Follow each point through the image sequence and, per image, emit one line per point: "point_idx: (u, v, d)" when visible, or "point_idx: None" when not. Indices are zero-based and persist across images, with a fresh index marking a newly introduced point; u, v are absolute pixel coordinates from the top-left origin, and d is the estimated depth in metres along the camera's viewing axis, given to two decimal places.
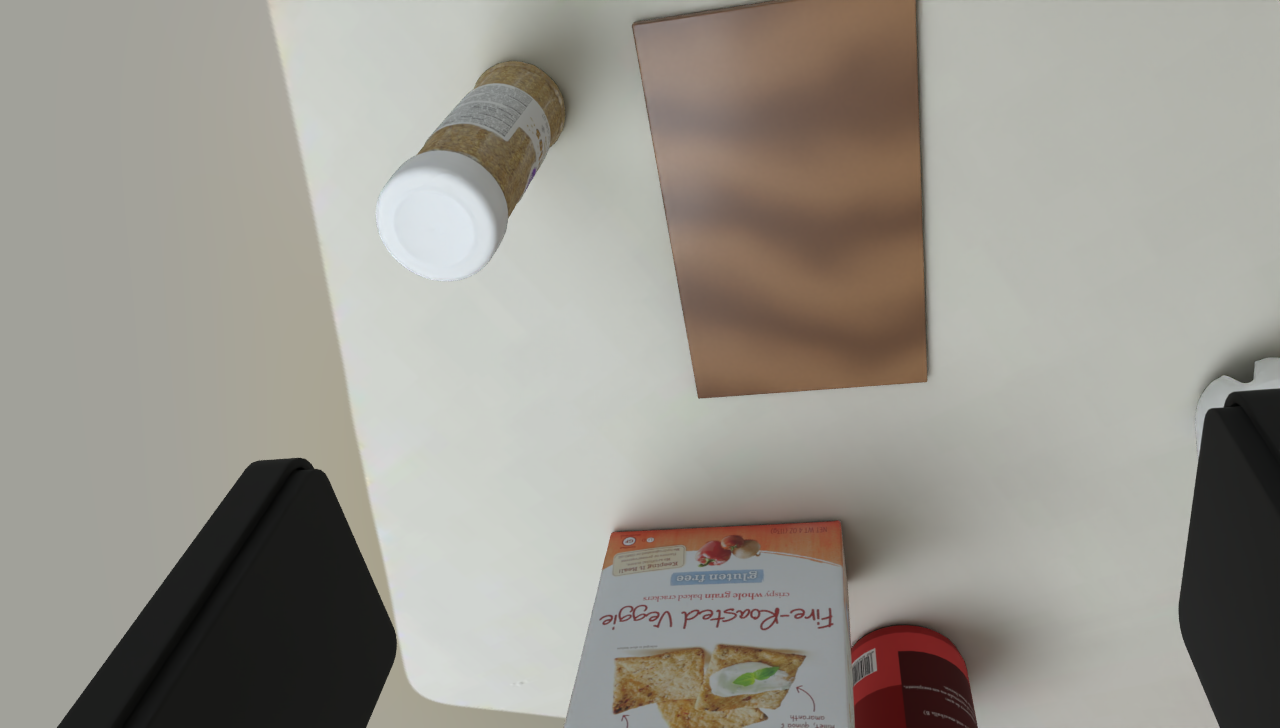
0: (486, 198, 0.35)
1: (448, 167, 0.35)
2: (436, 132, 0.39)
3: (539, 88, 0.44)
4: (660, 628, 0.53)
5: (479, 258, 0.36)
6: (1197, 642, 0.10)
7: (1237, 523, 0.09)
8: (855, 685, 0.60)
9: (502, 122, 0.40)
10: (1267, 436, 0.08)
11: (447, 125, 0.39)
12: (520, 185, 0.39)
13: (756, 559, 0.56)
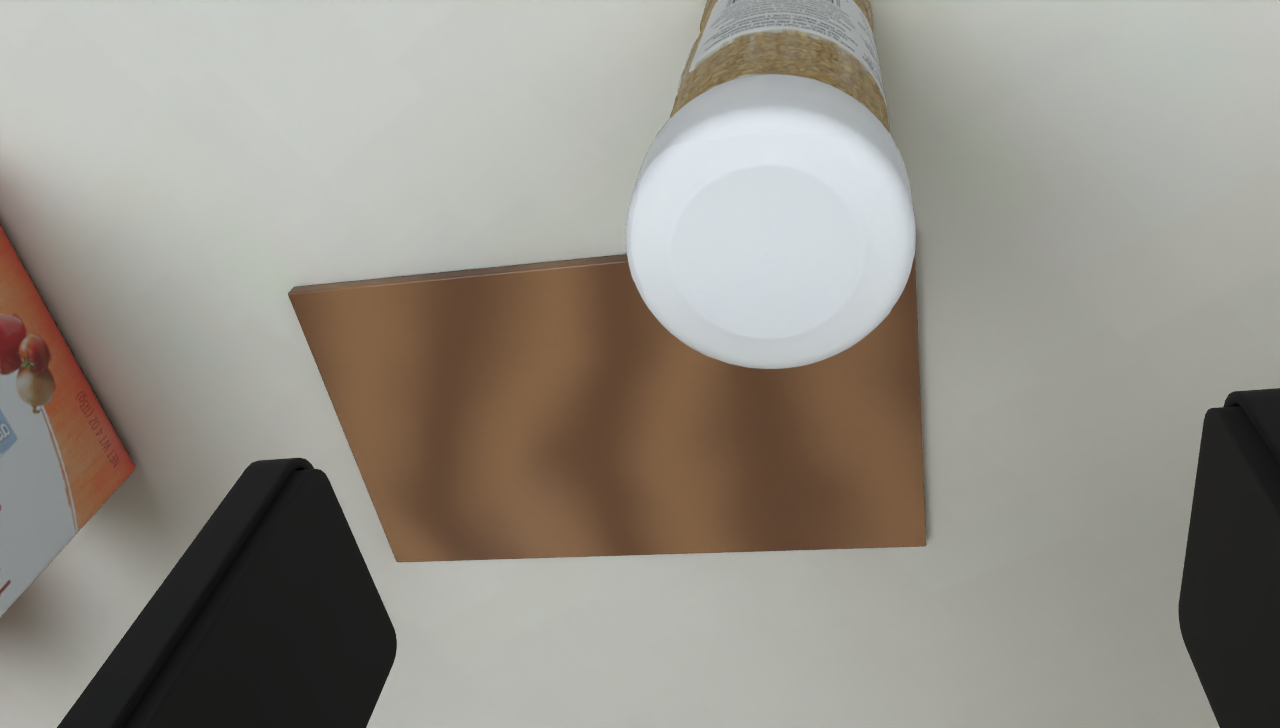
0: (829, 355, 0.17)
1: (903, 284, 0.16)
2: (875, 85, 0.19)
3: None
4: None
5: (693, 335, 0.16)
6: (1197, 641, 0.10)
7: (1237, 523, 0.09)
8: None
9: None
10: (1267, 436, 0.08)
11: (886, 106, 0.19)
12: None
13: (26, 415, 0.34)
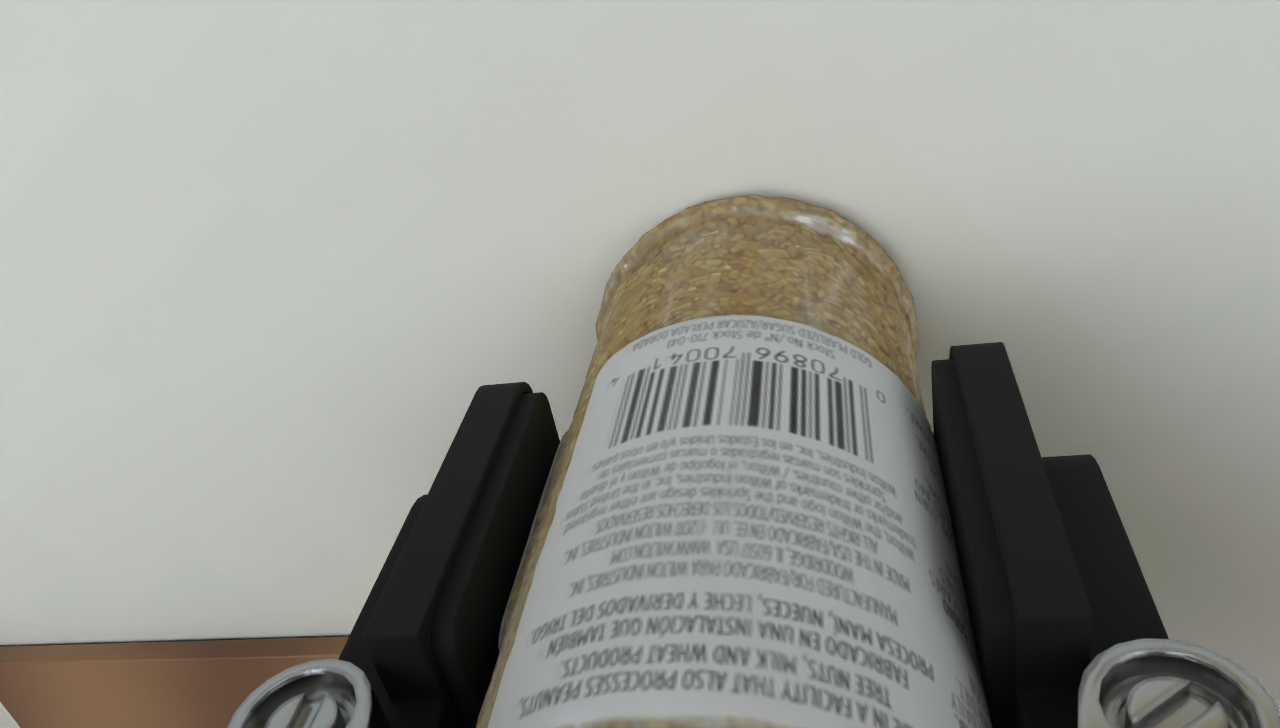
0: None
1: None
2: None
3: None
4: None
5: None
6: None
7: (943, 457, 0.10)
8: None
9: None
10: (961, 381, 0.10)
11: None
12: None
13: None
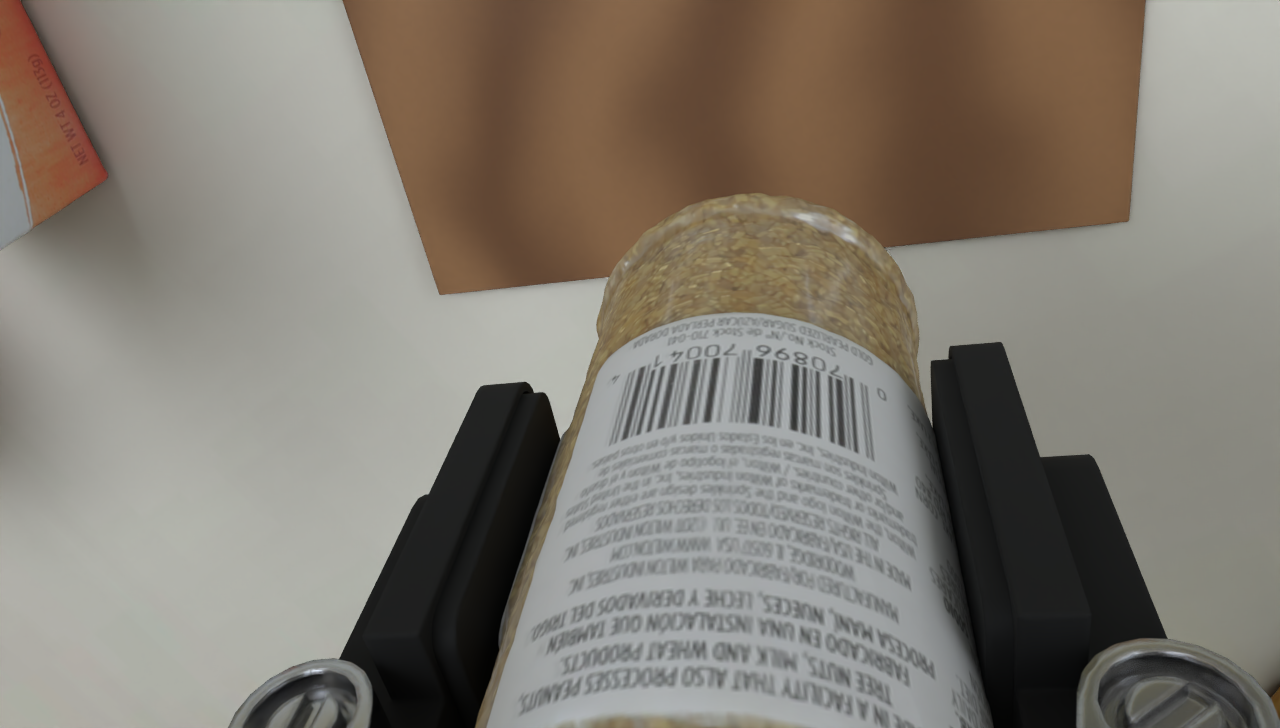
0: None
1: None
2: None
3: None
4: None
5: None
6: None
7: (942, 457, 0.10)
8: None
9: None
10: (960, 381, 0.10)
11: None
12: None
13: None
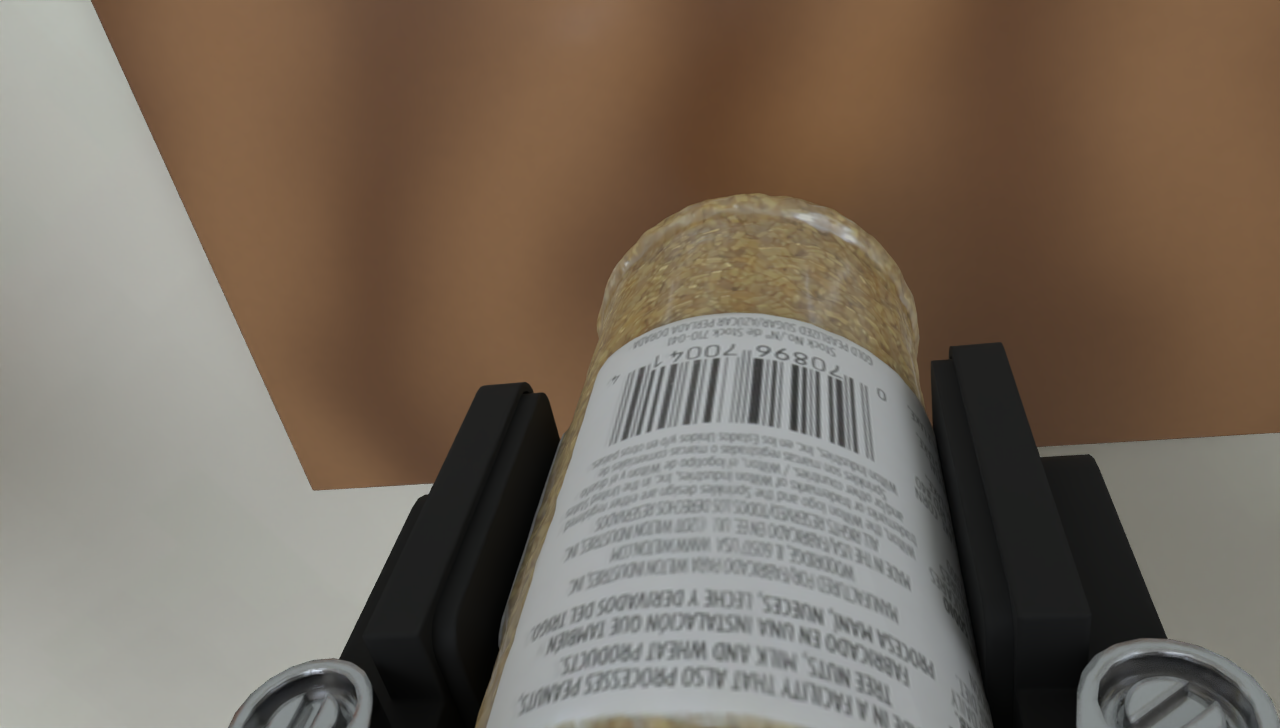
0: None
1: None
2: None
3: None
4: None
5: None
6: None
7: (942, 457, 0.10)
8: None
9: None
10: (960, 381, 0.10)
11: None
12: None
13: None
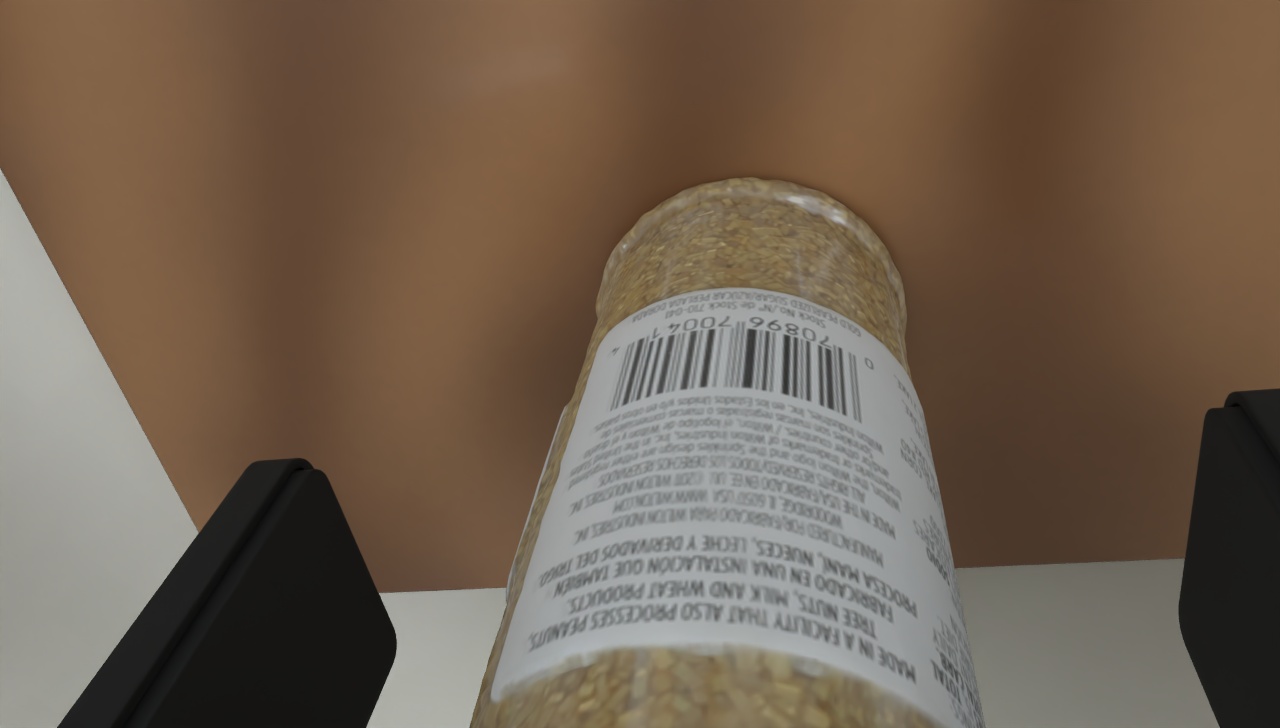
0: None
1: None
2: None
3: None
4: None
5: None
6: (1197, 641, 0.10)
7: (1237, 523, 0.09)
8: None
9: None
10: (1267, 436, 0.08)
11: None
12: None
13: None
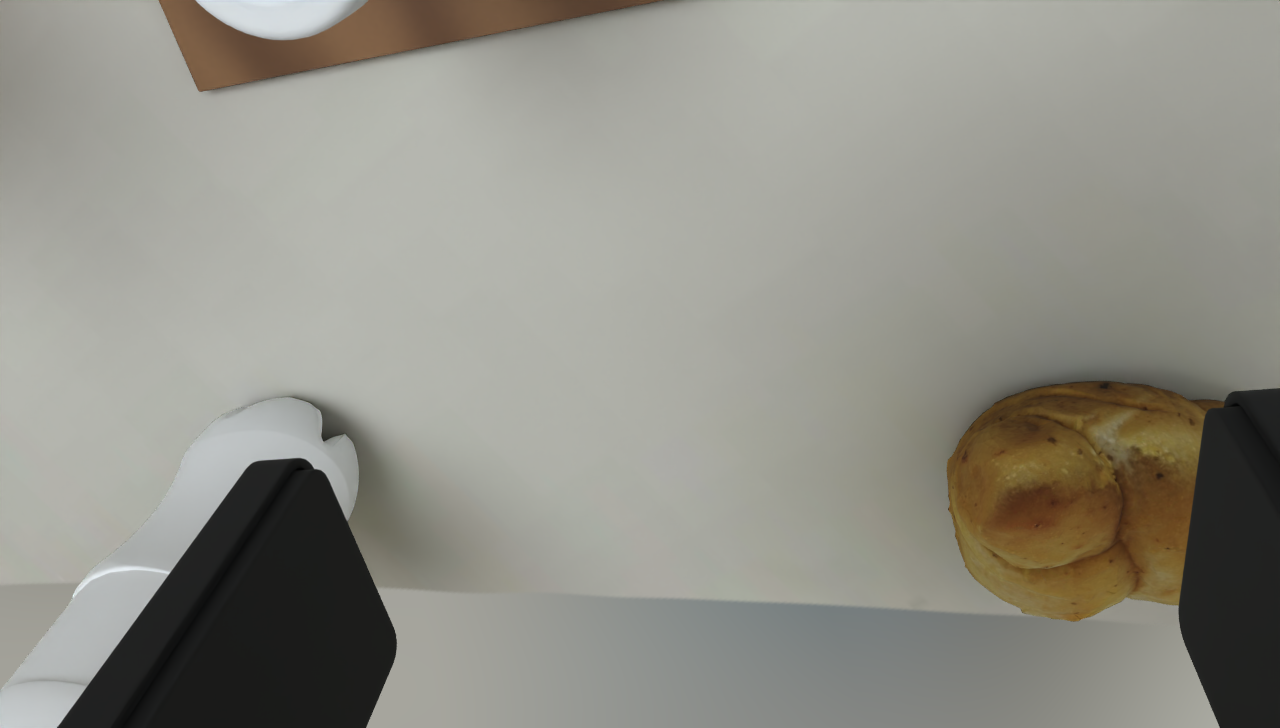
0: (334, 24, 0.21)
1: None
2: None
3: None
4: None
5: (222, 10, 0.21)
6: (1197, 642, 0.10)
7: (1237, 523, 0.09)
8: None
9: None
10: (1267, 436, 0.08)
11: None
12: None
13: None
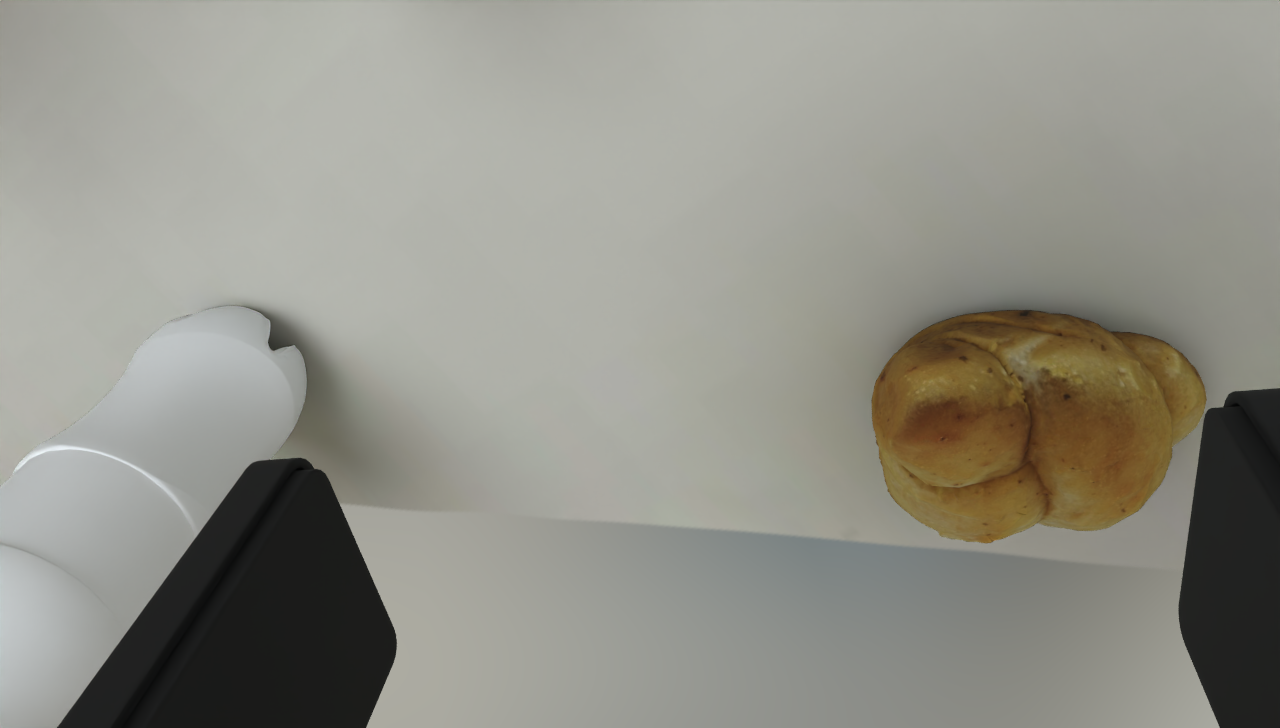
0: None
1: None
2: None
3: None
4: None
5: None
6: (1197, 641, 0.10)
7: (1237, 523, 0.09)
8: None
9: None
10: (1267, 436, 0.08)
11: None
12: None
13: None
